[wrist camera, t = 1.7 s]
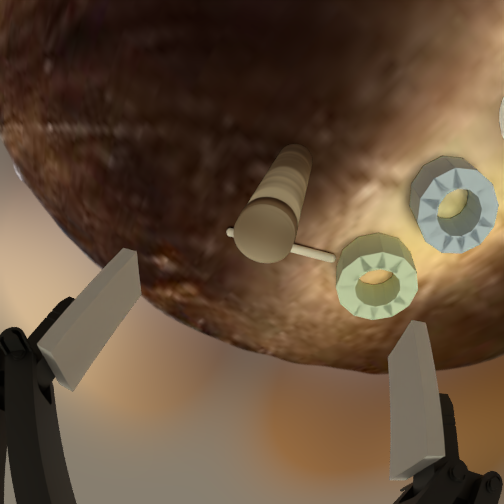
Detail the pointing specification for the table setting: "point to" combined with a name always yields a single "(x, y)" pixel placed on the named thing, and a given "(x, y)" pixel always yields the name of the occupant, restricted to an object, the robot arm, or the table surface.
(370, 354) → the table surface
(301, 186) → the wooden dowel
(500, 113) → the wineglass
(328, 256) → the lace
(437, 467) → the robot arm
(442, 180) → the blue bead
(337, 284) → the bead
